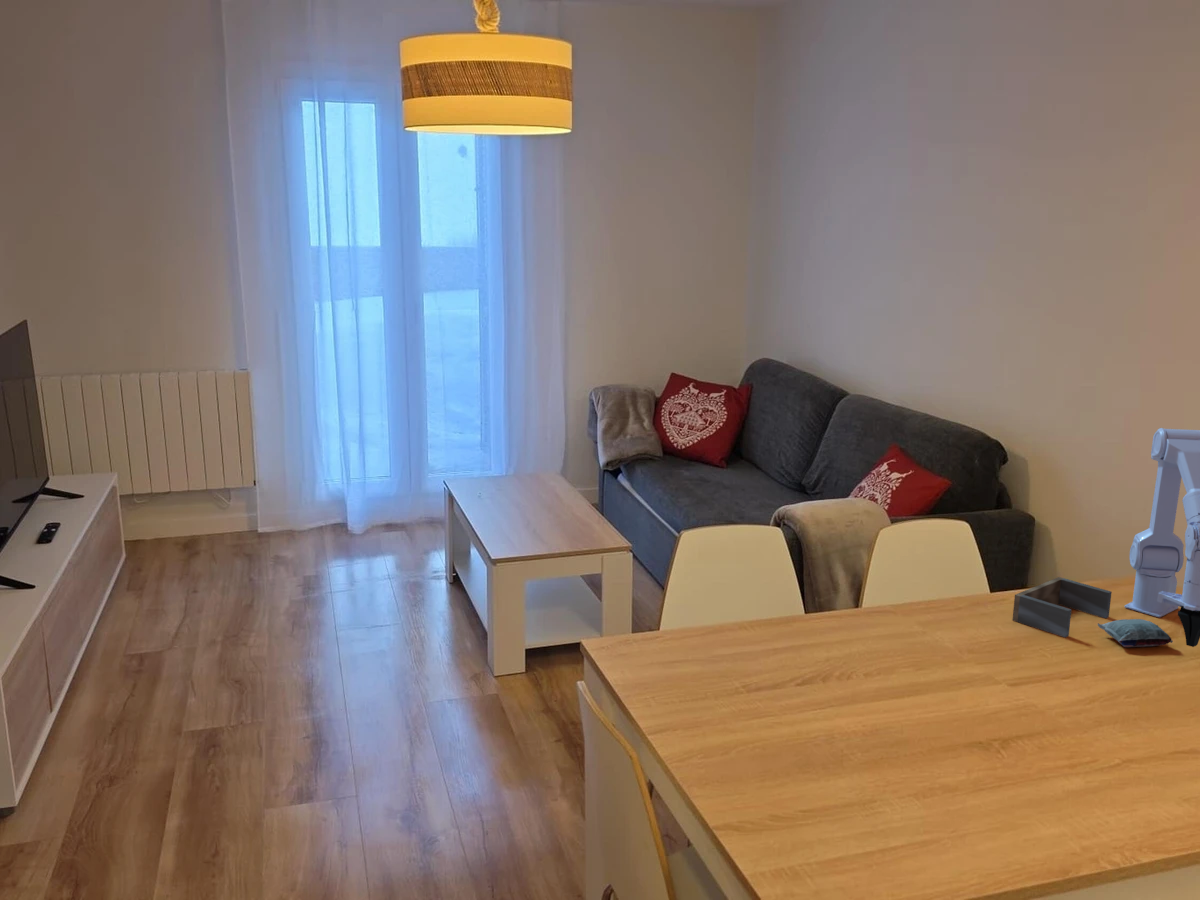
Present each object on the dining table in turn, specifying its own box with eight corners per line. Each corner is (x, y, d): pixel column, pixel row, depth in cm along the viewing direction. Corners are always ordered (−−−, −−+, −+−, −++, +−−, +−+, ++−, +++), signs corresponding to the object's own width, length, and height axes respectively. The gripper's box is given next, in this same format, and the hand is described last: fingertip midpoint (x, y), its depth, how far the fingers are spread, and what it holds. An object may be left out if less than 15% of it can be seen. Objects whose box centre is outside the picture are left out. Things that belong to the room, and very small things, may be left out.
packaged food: (1096, 635, 223) (1099, 613, 222) (1149, 634, 224) (1152, 612, 223) (1118, 652, 215) (1121, 630, 214) (1173, 651, 216) (1177, 629, 214)
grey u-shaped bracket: (1056, 601, 242) (1059, 576, 241) (1108, 617, 233) (1111, 591, 232) (1012, 620, 231) (1014, 594, 230) (1065, 637, 222) (1068, 611, 220)
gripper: (1153, 575, 211) (1146, 638, 214) (1231, 595, 200) (1222, 661, 203) (1169, 568, 215) (1161, 630, 218) (1246, 587, 204) (1237, 652, 207)
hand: (1191, 644), depth 211 cm, fingers closed
